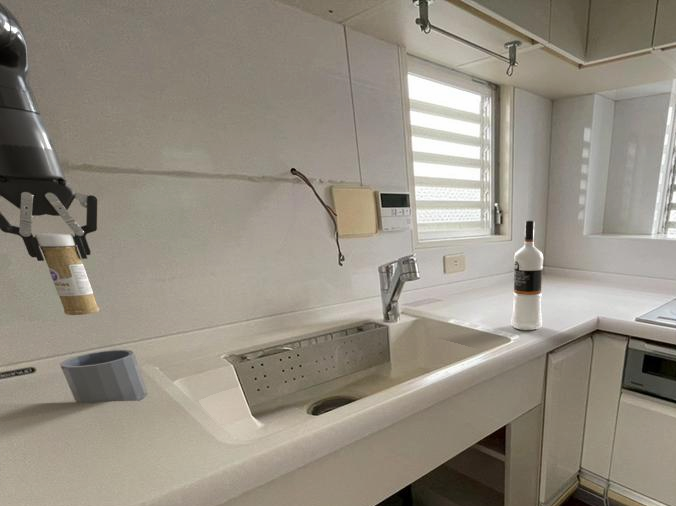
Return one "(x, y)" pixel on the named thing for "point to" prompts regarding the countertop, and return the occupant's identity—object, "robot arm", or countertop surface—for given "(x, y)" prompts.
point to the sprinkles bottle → (67, 273)
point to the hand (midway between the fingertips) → (62, 259)
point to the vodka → (527, 283)
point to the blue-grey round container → (104, 377)
